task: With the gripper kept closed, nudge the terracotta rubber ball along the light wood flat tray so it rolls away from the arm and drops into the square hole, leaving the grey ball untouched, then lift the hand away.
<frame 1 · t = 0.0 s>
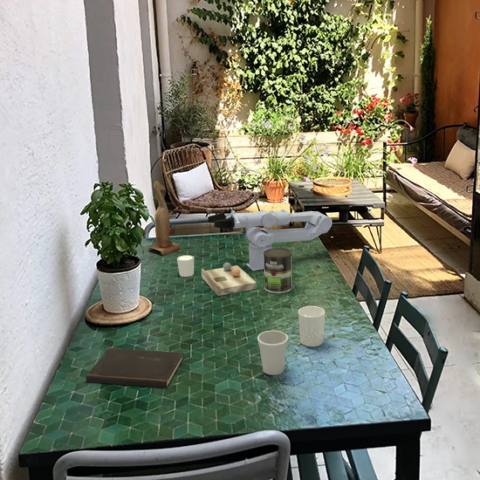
hand: (211, 221, 225), 22 cm above the table, tool horizontal, fingers open, 7 cm apart
coffee can: (278, 288, 216), on the table
hardcover book: (136, 371, 165), on the table
white tapered cylinder: (186, 274, 233), on the table
light wood flat tray: (228, 282, 223), on the table
grey ball: (227, 266, 228), point 4 cm above the table, touching light wood flat tray
bird sculpture: (164, 250, 262), on the table
dixie cup: (273, 370, 162), on the table
ball: (236, 272, 222), point 4 cm above the table, touching light wood flat tray
white cup: (311, 342, 176), on the table
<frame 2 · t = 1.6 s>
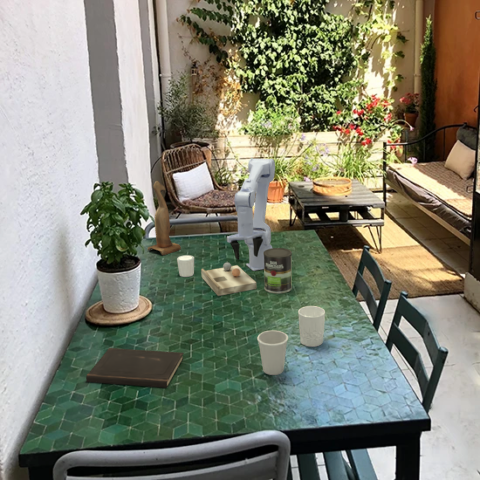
hand: (246, 257, 221), 9 cm above the table, tool pointing down, fingers open, 7 cm apart
nothing on the table moved.
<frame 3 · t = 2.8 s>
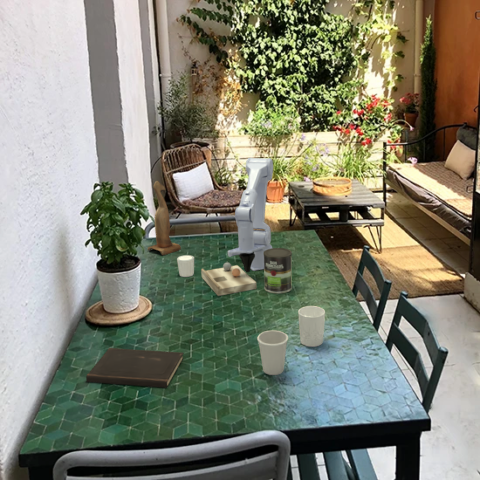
hand: (247, 271, 223), 4 cm above the table, tool pointing down, fingers closed
nothing on the table moved.
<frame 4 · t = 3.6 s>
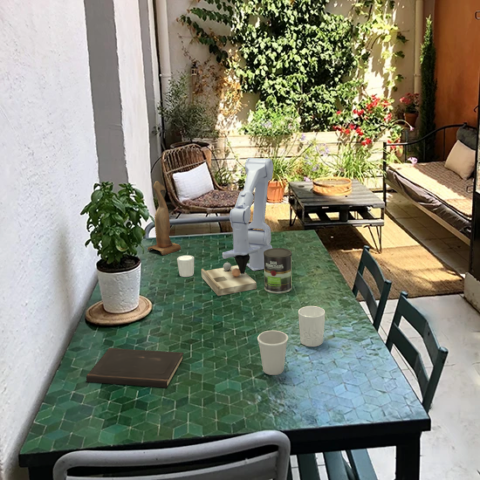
hand: (242, 273, 223), 3 cm above the table, tool pointing down, fingers closed, pressing on ball
ball: (236, 272, 222), point 4 cm above the table, touching light wood flat tray, gripper
everything else where it was.
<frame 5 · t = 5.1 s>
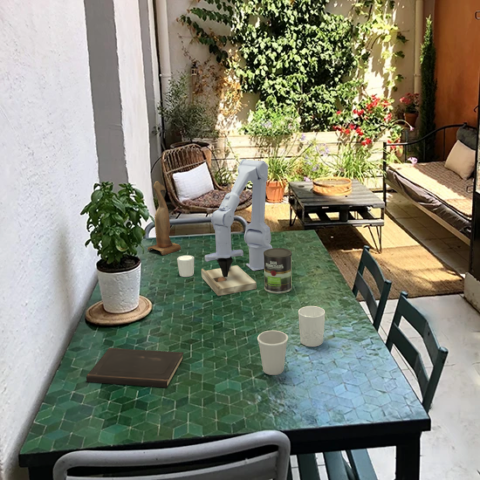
hand: (225, 276, 220), 3 cm above the table, tool pointing down, fingers closed
ball: (221, 281, 220), point 2 cm above the table, tilted 130°
everything else where it was.
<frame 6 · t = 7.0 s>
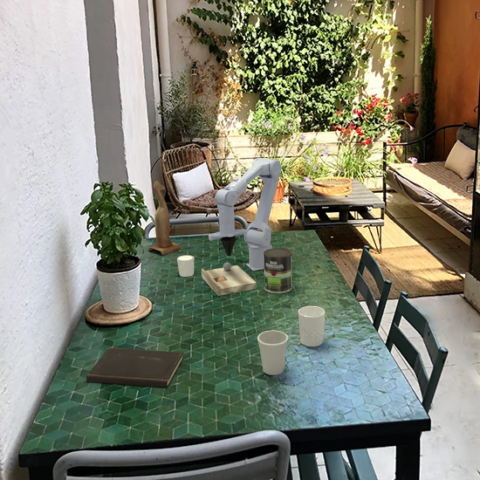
hand: (228, 255, 223), 10 cm above the table, tool pointing down, fingers closed
nothing on the table moved.
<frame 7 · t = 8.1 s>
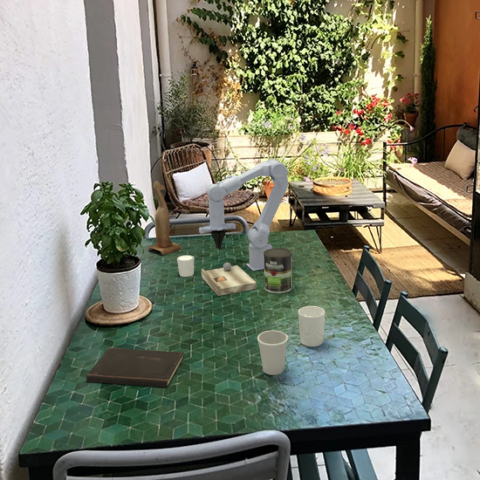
hand: (218, 248, 232), 10 cm above the table, tool pointing down, fingers closed
nothing on the table moved.
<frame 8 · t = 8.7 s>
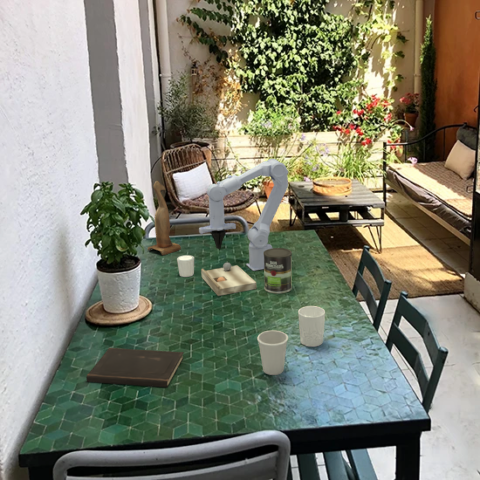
hand: (218, 248, 232), 10 cm above the table, tool pointing down, fingers closed
nothing on the table moved.
at the end: ball 0.3 cm from the target spot in the light wood flat tray, point 1.6 cm above the light wood flat tray's base; ball point 1.6 cm above the table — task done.
